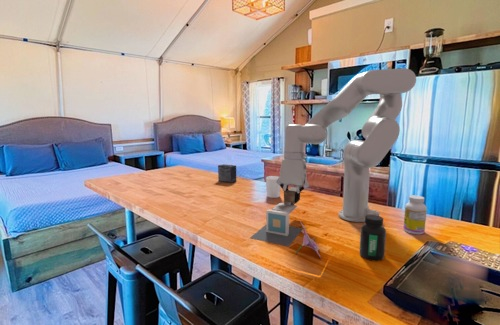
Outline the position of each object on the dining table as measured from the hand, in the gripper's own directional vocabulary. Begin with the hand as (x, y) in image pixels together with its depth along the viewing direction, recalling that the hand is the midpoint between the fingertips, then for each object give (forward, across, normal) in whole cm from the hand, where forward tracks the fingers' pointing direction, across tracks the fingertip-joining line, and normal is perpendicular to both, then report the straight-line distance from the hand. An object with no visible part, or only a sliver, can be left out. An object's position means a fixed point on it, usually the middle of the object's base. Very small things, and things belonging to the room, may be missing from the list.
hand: (291, 200), depth 114 cm
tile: (+7, -1, +16) cm, 18 cm away
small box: (+9, +59, -46) cm, 76 cm away
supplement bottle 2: (+7, -44, -8) cm, 45 cm away
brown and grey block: (+1, 0, +3) cm, 4 cm away
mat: (+8, -1, +16) cm, 18 cm away
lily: (+8, -15, +26) cm, 31 cm away
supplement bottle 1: (+7, -32, +18) cm, 38 cm away
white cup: (+8, +19, -28) cm, 34 cm away
